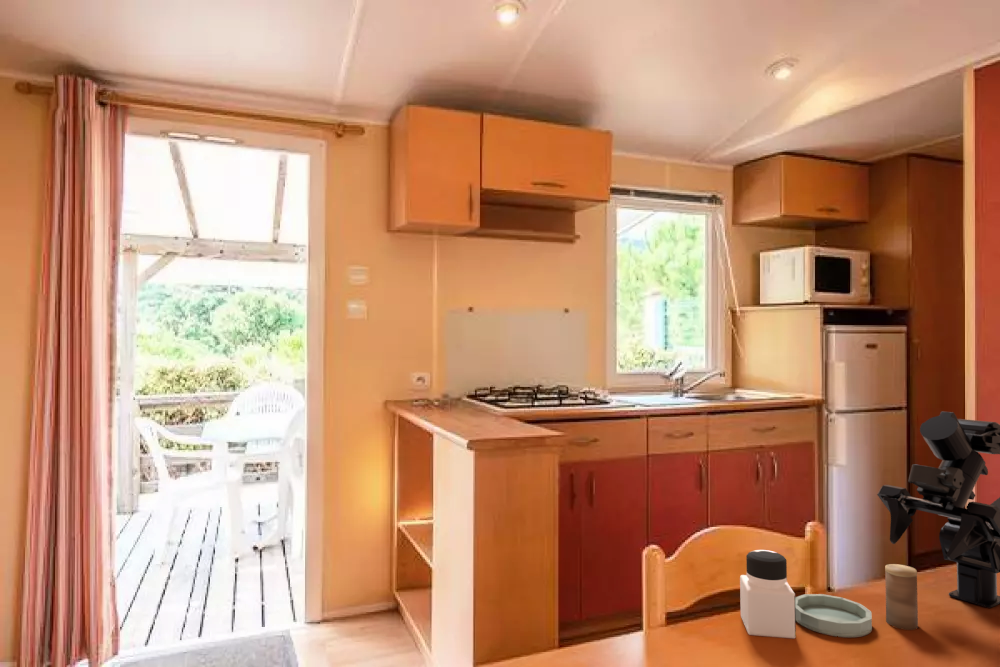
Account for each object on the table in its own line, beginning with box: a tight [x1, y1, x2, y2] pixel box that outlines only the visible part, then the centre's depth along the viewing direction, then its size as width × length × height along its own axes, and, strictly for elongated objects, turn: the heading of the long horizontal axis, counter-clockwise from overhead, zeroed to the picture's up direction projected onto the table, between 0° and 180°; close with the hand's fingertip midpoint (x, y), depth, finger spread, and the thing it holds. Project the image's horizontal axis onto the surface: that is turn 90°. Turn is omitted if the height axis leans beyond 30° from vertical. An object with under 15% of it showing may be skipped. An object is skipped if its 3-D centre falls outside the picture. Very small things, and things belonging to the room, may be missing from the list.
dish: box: [795, 593, 873, 638], centre depth 105 cm, size 12×12×2 cm
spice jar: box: [884, 563, 919, 631], centre depth 104 cm, size 4×4×9 cm
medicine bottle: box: [739, 549, 797, 639], centre depth 103 cm, size 7×7×12 cm
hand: (919, 549), depth 106 cm, fingers open, 9 cm apart
